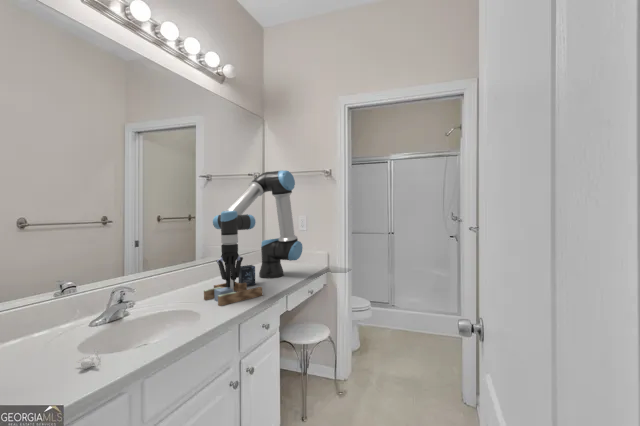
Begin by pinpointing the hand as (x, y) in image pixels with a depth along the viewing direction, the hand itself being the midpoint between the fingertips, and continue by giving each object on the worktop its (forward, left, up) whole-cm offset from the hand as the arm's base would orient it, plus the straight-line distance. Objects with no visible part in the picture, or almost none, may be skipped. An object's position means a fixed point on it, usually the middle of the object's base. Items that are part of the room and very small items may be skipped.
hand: (230, 293), depth 148 cm
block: (+4, 0, -2) cm, 4 cm away
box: (-20, -17, -2) cm, 26 cm away
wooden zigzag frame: (-2, -4, -2) cm, 4 cm away
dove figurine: (+59, +32, -2) cm, 67 cm away
